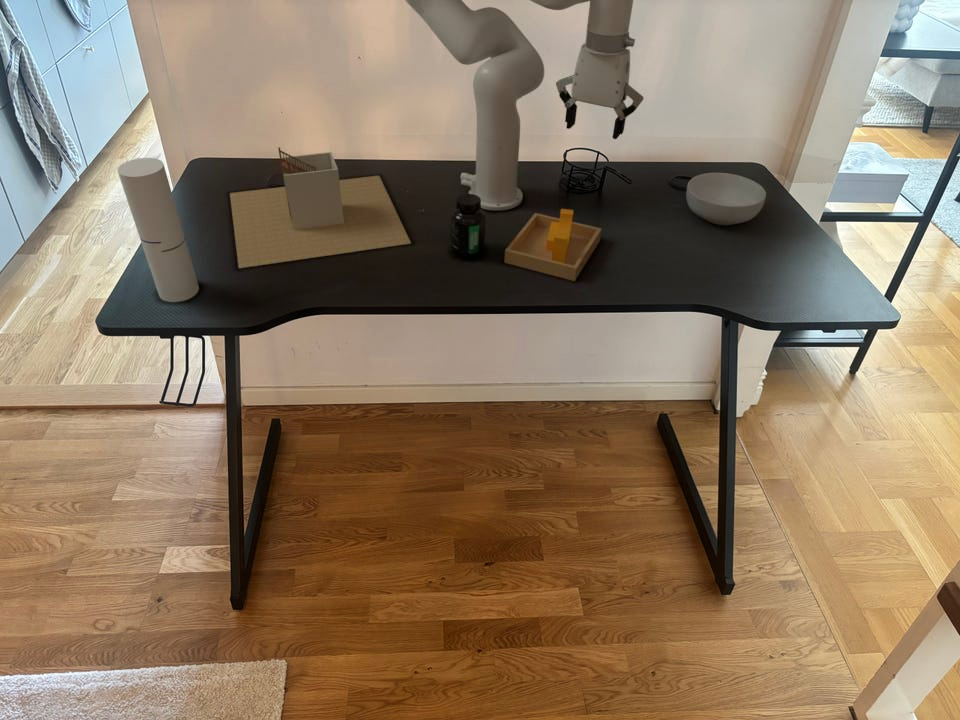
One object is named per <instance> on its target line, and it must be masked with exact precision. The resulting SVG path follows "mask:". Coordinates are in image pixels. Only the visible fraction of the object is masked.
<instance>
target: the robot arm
mask: <svg viewBox="0 0 960 720" xmlns="http://www.w3.org/2000/svg"><path fill="white" fill-rule="evenodd" d="M404 1H405V2H406V3H407V4H408V5H409V6H410V7H411V8H412V10H413V11H415V13H416V14H417V15H418V16H419V17H420V18H421V19H422V20H423V21H424V22H425V23H426V25H427V26H428V27H429V29H430V30H431V31H432V33H433V34H434V35H435V36H436V37H437V39H438V40H439V41H440V42H441V44H442V45H443V46H444V47H445V49H446V50H447V51H448V52H449V54H451V56H452V57H453V58H454V59H455V61H457V62H458V63H460V64H461V65H466V66H470V65H475V64H477V63H479V62H482V61H484V60H485V61H484V62H483V63H481V65H480V66H479V67H478V68H477V69H476V71H475V73H474V76H473V80H472V88H473V95H474V102H475V110H476V142H475V144H476V145H475V147H476V149H475V173H474V174H470V173H468V172H461V174H460V185H461V186H465V187H469V190H468V194H474V195H477V196H478V197H479V198H480V199H481V209H482V210H486V211H497V212H499V211H500V212H501V211H507V210H511V209H514V208H516V207H518V206H519V205H520V204H521V203H522V202H523V198H524V196H523V194H524V193H523V192H522V190H521V189H520V188H519V187H517V186H518V185H517V184H518V170H519V157H520V154H519V153H520V140H521V139H520V138H521V118H520V114H519V111H518V106H517V102H518V100H519V99H521V98H522V97H524V96H527V95H529V94H531V93H532V92H534V91H535V90H537V89H538V88H539V87H540V86H541V85H542V83H543V81H544V78H545V65H544V61H543V58H542V57H541V55H540V54H539V52H538V50H537V49H536V48H535V47H534V46H533V44H532V42H530V40H529V39H528V38H527V37H526V35H524V33H523V32H522V30H520V28H519V27H518V26H517V24H516V23H515V22H514V20H513V19H512V18H511V17H510V16H509V15H508V14H506V12H504V11H503V10H501V9H499V8H497V7H493V6H487V7H486V6H485V7H482V8H478V9H476V10H474V9H471V8H470V7H469V6H468V5H467V4H466V3H465V2H464V1H463V0H404ZM529 1H530V2H533V3H534V4H536V5H538V6H541V7H543V8H545V9H548V10H552V11H562V10H563V11H564V10H565V9H568V8H571V7H573V6H575V5H578V4H583V3H587V2H589V8H588V16H587V24H586V32H585V40H584V43H583V44H582V45H581V47H580V49H579V53H578V56H577V59H576V64H575V68H574V72H573V74H571V75H569V76H567V77H563V78H561V79H558V80H557V81H556V82H555V86H556V89H557V92H558V96H559V98H560V99H561V101H562V102H563V104H564V108H565V117H564V118H565V119H564V122H565V123H566V126H565V127H566V129H568V130H569V129H572V128H573V126H575V125H576V119H577V111H578V105H577V103H576V102H581V103H586V104H590V105H595V106H599V107H605V108H610V109H613V111H614V112H615V114H616V116H617V117H616V118H615V120H614V126H613V130H612V131H613V132H612V139H613V140H617V139H618V138H619V137H620V135H623V134H624V130H625V125H626V119H627V117H629V116H630V115H631V114H633V113H635V111H636V110H637V109H638V107H639V106H640V105H641V104H642V102H643V101H644V99H645V97H644V96H643V95H642V94H641V93H640V92H639V91H637V90H636V89H635V88H633V87H632V86H631V85H630V73H631V51H630V49H629V48H630V47H631V48H633V47H634V46H635V43H636V39H635V38H632V37H630V31H629V29H630V23H631V18H632V12H633V5H634V0H529ZM488 58H489V59H488ZM568 85H571V93H570V92H569V91H568V90H567V87H566V86H568ZM627 97H629V98H630V99H631V100H632V103H631V104H630V105H628V106H627V105H626V103H625V101H626V99H627Z"/></svg>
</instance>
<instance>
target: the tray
mask: <svg viewBox="0 0 960 720" xmlns="http://www.w3.org/2000/svg"><path fill="white" fill-rule="evenodd" d="M559 219H560V217H555V216H550V215H547V214H546V215H545V214H542V213H537V212H534V214H533V215H532V216H531V218H529V220H528V221H527V222H526V224H525V225H524V226H522V228H521V229H520V231H518V234H517V235H516V236H515V237H514V239H513V240H512V241H510V243H509V245H508V246H507V247H506V248H505V250H504V264H507V265H512V266H516V267H519V268H523V269H527V270H530V271H534V272H538V273H541V274H546V275H548V276H549V275H550V276H554V277H557V278H560V279H561V278H562V279H565V280H569V281H573V282H576V281H577V279H578V277H579V275H580V274H581V273H582V270H583V269H584V267H585V265H586V264H587V262H588V260H589V259H590V258H591V256H592V254H593V253H594V252H595V249H596V248H597V246H598V244H599V243H600V241H601V236H602V229H603V228H601V227H598V226H597V227H596V226H593V225H590V224H589V225H588V224H584V223H580V222H576V221H572V228H571V236H570V241H569V246H568V250H567V255H566V259H565V263H562V262H558V261H554V260H552V251H548V250H546V247H547V239H548V234H549V229H550V226H551V222H559Z"/></svg>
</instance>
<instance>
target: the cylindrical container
mask: <svg viewBox="0 0 960 720" xmlns="http://www.w3.org/2000/svg"><path fill="white" fill-rule="evenodd" d="M117 175H118V177H119V180H120V183H121V185H122V189H123V192H124V195H125V197H126V201H127V204H128V207H129V210H130V213H131V216H132V219H133V222H134V225H135V228H136V230H137V235H138V237H139V240H140V242H141V243H140V244H141V245H142V249H143V252H144V255H145V258H146V261H147V264H148V267H149V270H150V273H151V276H152V279H153V282H154V285H155V288H156V290H157V293H158V297H159V299H161V300H163V301H164V302H168V303H180V302H184V301H187V300H190V299H192V298H193V297H195V296H196V295H197V294H198V293H199V289H200V288H199V287H200V286H199V283H198V279H197V276H196V273H195V269H194V265H193V262H192V258H191V255H190V251H189V248H188V245H187V241H186V238H185V234H184V230H183V227H182V224H181V220H180V217H179V213H178V209H177V207H176V206H177V205H176V202H175V199H174V195H173V191H172V188H171V185H170V182H169V178H168V175H167V171H166V167H165V165H164V162H163V161H162V160H161V159H158V158H155V157H138V158H133V159H130V160H127V161H125V162H123V163H121V164H119V166H118V167H117Z"/></svg>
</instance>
